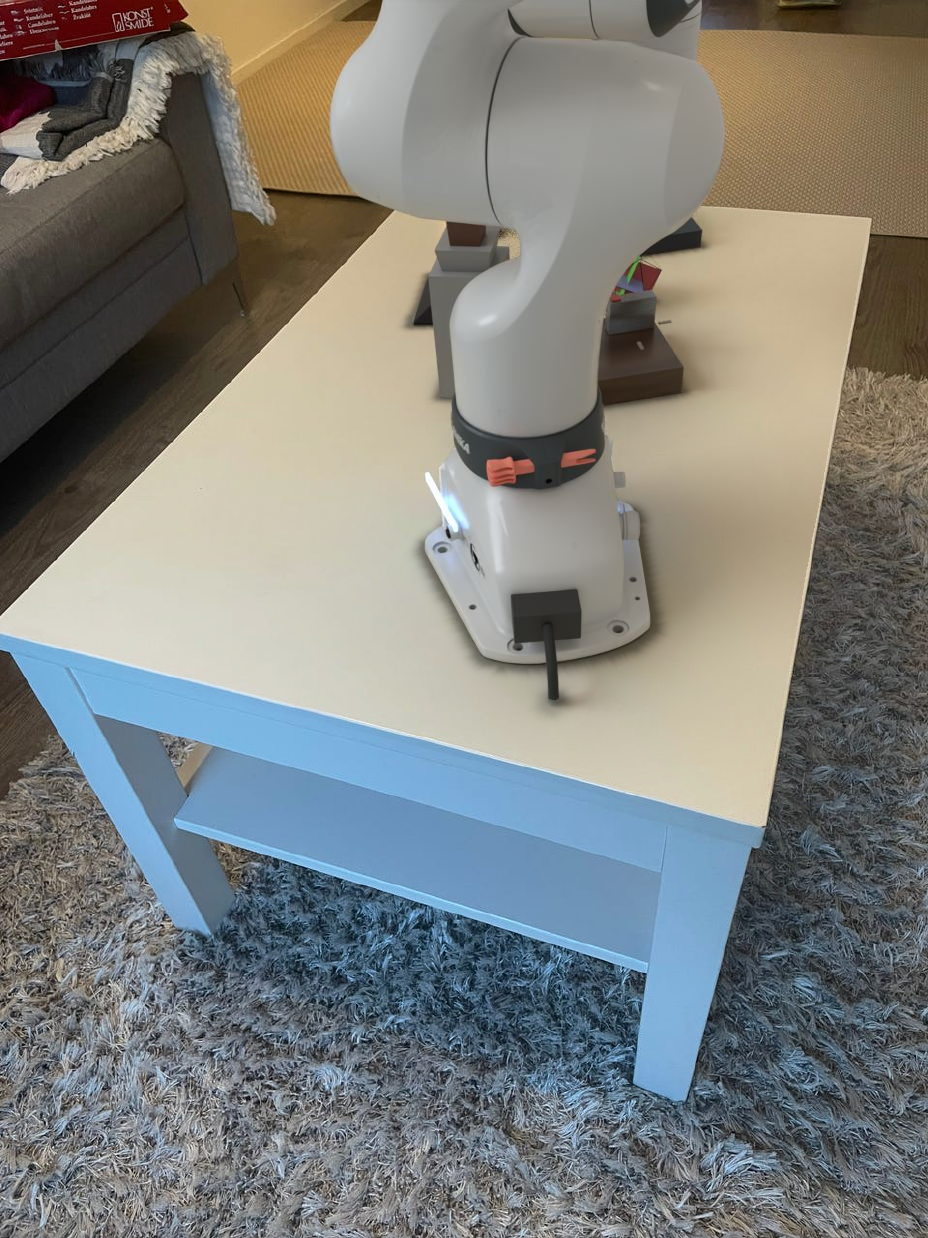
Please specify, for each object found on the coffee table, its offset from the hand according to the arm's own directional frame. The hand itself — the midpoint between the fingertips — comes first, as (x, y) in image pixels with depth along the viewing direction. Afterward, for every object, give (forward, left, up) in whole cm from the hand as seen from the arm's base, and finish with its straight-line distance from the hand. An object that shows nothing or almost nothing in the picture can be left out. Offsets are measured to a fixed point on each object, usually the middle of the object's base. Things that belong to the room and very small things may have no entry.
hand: (639, 202), depth 97 cm
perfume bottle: (-4, +18, -15) cm, 24 cm away
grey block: (-3, +1, -12) cm, 12 cm away
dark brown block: (-5, +2, -15) cm, 16 cm away
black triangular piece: (+15, +18, -15) cm, 28 cm away
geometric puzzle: (+8, -2, -15) cm, 17 cm away
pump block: (+25, -10, -15) cm, 31 cm away
